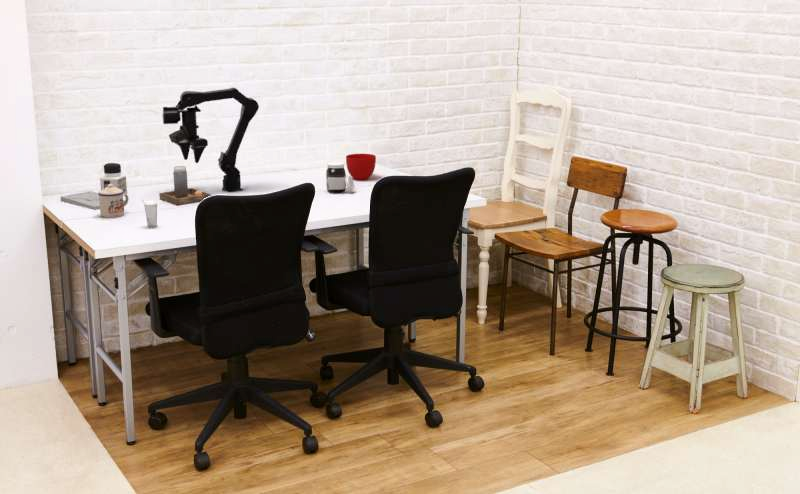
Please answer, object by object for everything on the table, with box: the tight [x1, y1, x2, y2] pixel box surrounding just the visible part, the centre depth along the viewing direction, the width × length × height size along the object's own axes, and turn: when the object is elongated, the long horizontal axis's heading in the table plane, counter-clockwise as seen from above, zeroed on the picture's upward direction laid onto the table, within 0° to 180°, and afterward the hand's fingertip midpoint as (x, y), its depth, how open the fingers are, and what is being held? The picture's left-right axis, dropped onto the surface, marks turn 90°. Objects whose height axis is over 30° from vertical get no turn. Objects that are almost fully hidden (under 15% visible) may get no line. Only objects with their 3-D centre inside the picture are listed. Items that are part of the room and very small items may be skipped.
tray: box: [158, 188, 211, 206], centre depth 411 cm, size 15×15×2 cm
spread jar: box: [325, 161, 356, 194], centre depth 425 cm, size 12×11×12 cm
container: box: [99, 162, 128, 195], centre depth 418 cm, size 8×8×13 cm
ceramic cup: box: [345, 153, 377, 181], centre depth 452 cm, size 13×17×10 cm
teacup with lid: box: [97, 184, 129, 219], centre depth 386 cm, size 12×9×12 cm
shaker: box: [172, 165, 189, 199], centre depth 410 cm, size 5×5×12 cm
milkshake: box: [141, 199, 158, 228], centre depth 369 cm, size 4×5×10 cm
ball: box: [195, 190, 203, 196], centre depth 410 cm, size 3×3×3 cm
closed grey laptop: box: [60, 190, 126, 211], centre depth 407 cm, size 24×2×14 cm
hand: (191, 161), depth 421 cm, fingers open, 9 cm apart
